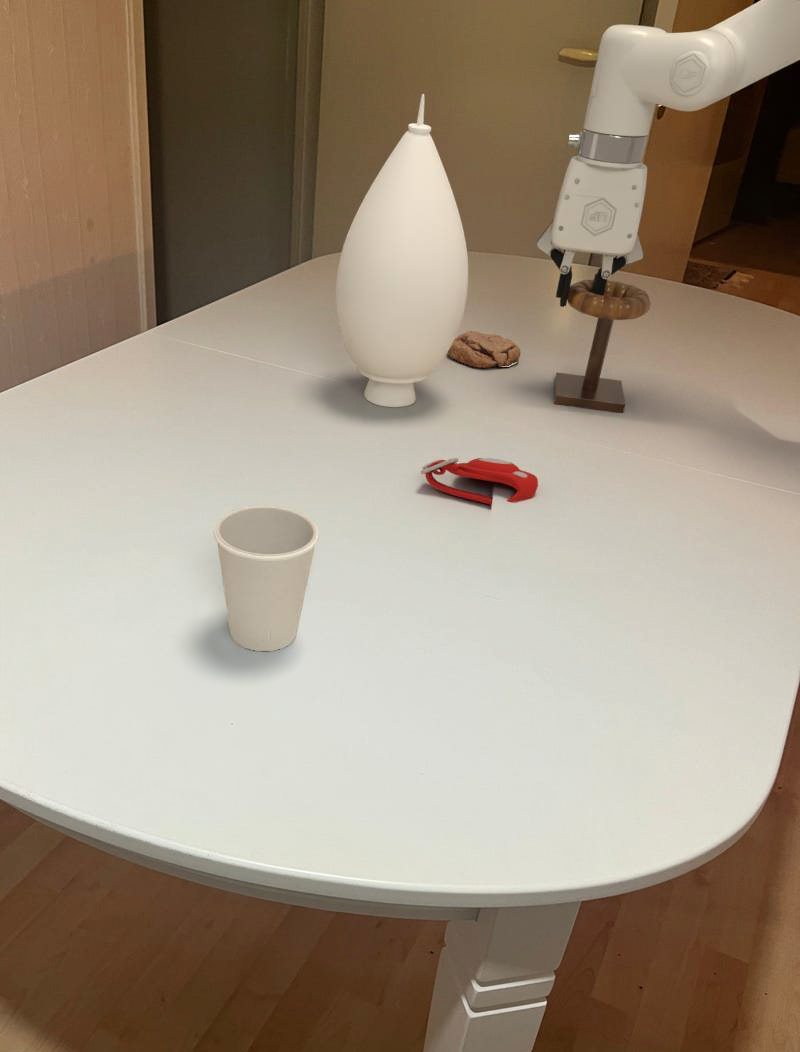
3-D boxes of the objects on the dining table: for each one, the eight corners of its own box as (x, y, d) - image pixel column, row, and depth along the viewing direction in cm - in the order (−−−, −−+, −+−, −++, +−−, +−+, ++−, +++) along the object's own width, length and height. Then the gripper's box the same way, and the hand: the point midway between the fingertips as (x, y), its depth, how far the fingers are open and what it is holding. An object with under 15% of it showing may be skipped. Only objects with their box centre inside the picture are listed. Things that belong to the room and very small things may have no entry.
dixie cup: (223, 599, 85) (224, 499, 79) (317, 610, 85) (324, 509, 79) (205, 655, 78) (203, 550, 72) (306, 666, 78) (313, 561, 72)
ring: (643, 303, 127) (648, 283, 126) (650, 326, 119) (655, 305, 117) (564, 293, 128) (569, 273, 127) (565, 316, 120) (570, 295, 119)
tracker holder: (493, 454, 111) (559, 468, 103) (486, 492, 112) (551, 509, 104) (414, 450, 103) (479, 465, 96) (408, 491, 105) (472, 509, 97)
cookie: (529, 369, 138) (533, 348, 136) (460, 371, 135) (464, 350, 134) (502, 345, 146) (506, 325, 144) (437, 347, 143) (439, 327, 141)
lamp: (421, 372, 134) (458, 85, 113) (469, 417, 122) (520, 105, 101) (314, 378, 130) (331, 81, 109) (352, 426, 118) (380, 102, 97)
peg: (619, 388, 134) (640, 307, 127) (623, 413, 126) (645, 328, 120) (554, 380, 135) (571, 299, 128) (554, 403, 128) (572, 319, 121)
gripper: (541, 146, 111) (512, 306, 122) (685, 161, 109) (643, 322, 120) (542, 137, 117) (514, 290, 128) (679, 151, 115) (639, 305, 126)
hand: (577, 304), depth 124 cm, fingers closed on ring, 3 cm apart
